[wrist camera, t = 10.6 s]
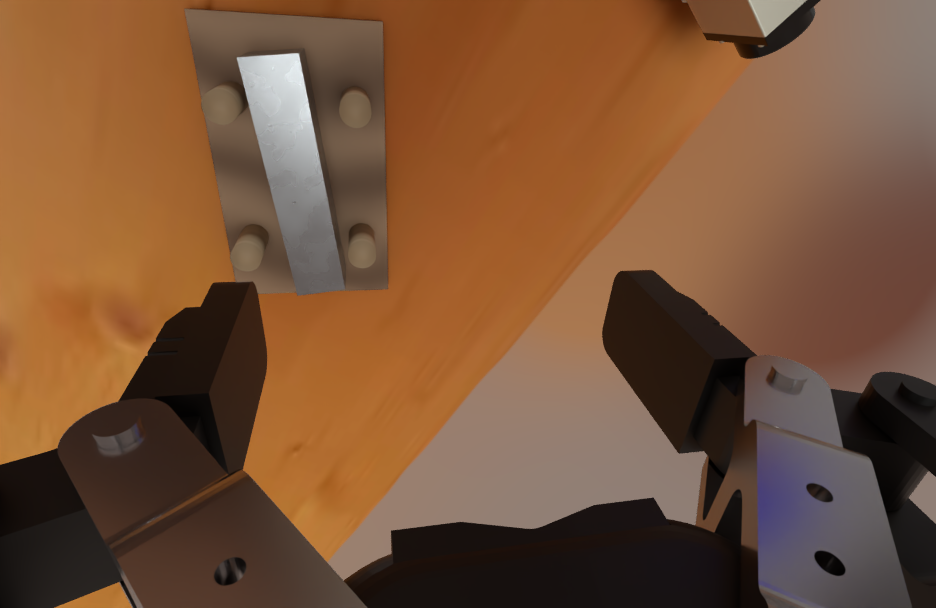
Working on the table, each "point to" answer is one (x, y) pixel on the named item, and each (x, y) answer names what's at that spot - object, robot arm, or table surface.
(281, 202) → the bar
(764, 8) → the pneumatic valve
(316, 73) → the cradle
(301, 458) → the table surface
